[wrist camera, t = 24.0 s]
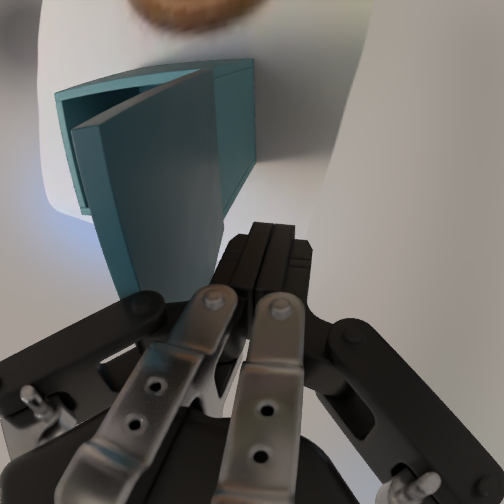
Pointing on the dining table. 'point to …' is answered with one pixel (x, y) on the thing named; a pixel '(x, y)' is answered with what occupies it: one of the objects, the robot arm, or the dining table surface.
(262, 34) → the dining table surface
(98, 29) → the dining table surface
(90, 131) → the teal box lid
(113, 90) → the teal open box
